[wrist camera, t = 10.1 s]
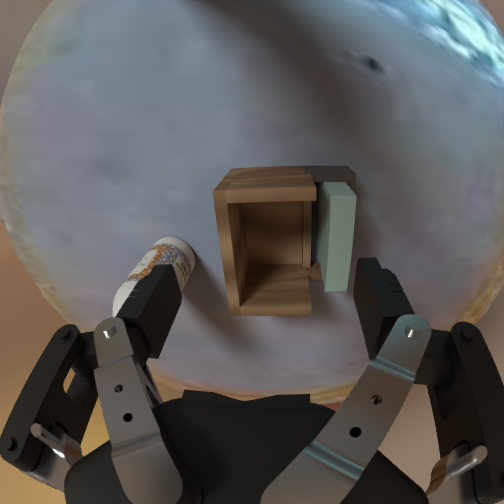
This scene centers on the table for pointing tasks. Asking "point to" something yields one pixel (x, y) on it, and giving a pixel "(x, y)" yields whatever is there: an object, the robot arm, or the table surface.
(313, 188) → the cabinet
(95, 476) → the robot arm
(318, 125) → the table surface
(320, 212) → the block
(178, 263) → the bath foam
